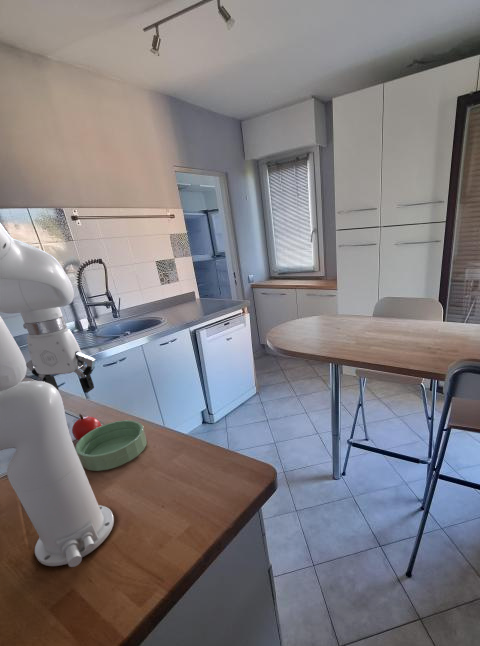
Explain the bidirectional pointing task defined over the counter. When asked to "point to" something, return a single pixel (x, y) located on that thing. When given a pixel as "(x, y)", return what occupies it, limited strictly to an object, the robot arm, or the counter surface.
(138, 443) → the bowl
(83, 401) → the counter surface
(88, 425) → the apple
